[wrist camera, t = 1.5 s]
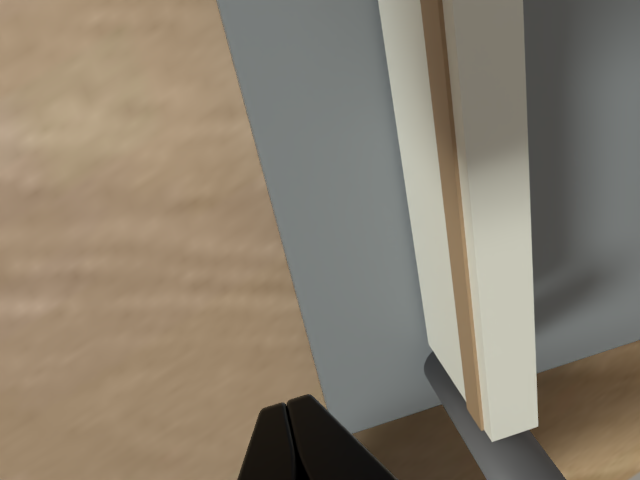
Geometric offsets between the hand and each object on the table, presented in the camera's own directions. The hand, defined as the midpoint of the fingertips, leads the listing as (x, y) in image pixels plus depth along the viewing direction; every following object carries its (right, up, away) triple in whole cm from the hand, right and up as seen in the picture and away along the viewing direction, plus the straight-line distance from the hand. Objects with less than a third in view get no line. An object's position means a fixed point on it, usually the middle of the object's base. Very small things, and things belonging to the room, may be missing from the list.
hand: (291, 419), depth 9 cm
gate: (+4, +5, +9) cm, 11 cm away
